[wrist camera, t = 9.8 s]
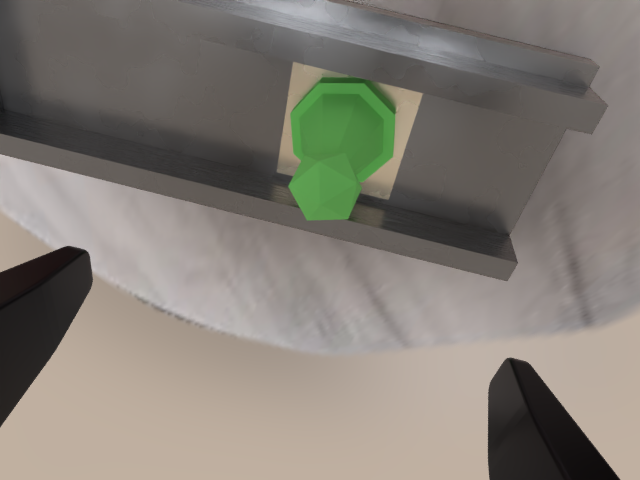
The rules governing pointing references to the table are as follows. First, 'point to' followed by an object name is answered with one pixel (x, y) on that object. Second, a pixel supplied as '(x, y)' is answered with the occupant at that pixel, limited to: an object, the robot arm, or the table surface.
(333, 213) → the game piece
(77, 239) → the table surface
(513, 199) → the track
